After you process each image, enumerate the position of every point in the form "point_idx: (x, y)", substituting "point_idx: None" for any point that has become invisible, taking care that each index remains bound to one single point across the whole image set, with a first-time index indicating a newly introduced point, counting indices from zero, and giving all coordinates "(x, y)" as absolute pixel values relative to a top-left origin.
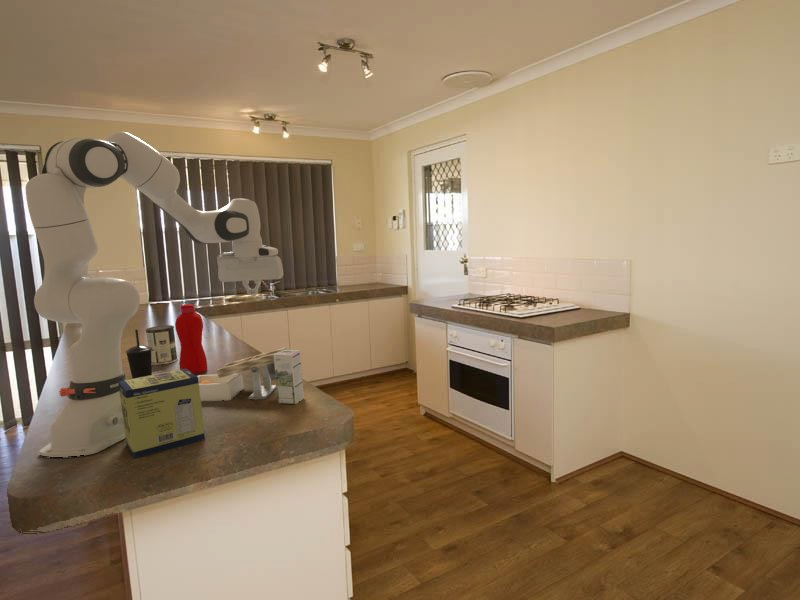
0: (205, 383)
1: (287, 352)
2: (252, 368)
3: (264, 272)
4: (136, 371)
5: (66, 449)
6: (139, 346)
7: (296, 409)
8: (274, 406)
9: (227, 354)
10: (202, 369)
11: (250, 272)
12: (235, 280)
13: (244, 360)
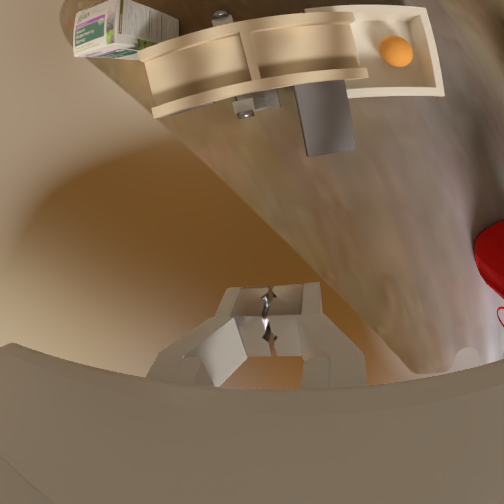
0: (393, 40)
1: (88, 22)
2: (222, 10)
3: (27, 413)
4: None
5: None
6: None
7: None
8: (179, 7)
9: (454, 355)
10: (480, 237)
11: (162, 490)
12: (467, 373)
13: (298, 73)
